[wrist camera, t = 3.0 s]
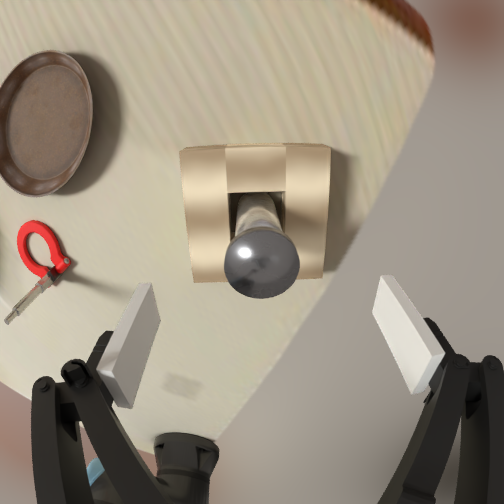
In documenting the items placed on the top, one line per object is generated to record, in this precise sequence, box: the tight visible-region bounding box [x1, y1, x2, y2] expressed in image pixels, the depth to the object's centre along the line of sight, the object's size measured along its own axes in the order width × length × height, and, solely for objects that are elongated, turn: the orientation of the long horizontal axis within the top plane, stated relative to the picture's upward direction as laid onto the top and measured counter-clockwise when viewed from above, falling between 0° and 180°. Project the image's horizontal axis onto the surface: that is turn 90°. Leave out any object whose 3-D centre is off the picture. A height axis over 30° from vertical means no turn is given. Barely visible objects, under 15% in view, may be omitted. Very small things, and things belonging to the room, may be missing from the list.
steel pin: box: [224, 192, 300, 299], centre depth 26 cm, size 5×5×13 cm
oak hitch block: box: [179, 143, 331, 283], centre depth 30 cm, size 14×14×4 cm
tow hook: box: [4, 220, 71, 325], centre depth 28 cm, size 8×13×9 cm
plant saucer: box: [0, 50, 93, 197], centre depth 25 cm, size 18×18×3 cm
